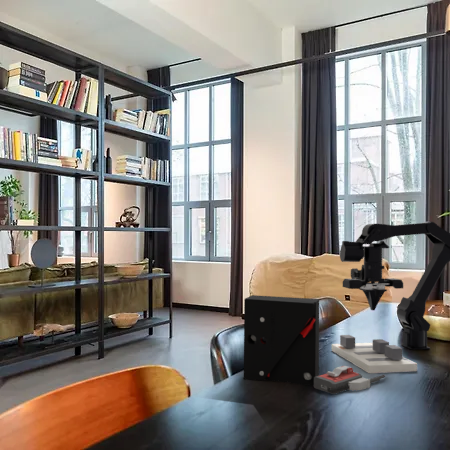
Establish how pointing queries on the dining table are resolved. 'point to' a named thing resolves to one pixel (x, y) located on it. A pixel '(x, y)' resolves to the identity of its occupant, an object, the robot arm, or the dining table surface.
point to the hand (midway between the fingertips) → (372, 310)
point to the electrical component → (281, 339)
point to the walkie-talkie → (343, 380)
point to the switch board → (373, 359)
